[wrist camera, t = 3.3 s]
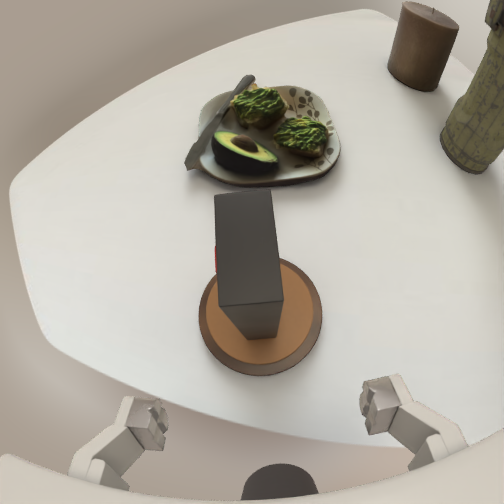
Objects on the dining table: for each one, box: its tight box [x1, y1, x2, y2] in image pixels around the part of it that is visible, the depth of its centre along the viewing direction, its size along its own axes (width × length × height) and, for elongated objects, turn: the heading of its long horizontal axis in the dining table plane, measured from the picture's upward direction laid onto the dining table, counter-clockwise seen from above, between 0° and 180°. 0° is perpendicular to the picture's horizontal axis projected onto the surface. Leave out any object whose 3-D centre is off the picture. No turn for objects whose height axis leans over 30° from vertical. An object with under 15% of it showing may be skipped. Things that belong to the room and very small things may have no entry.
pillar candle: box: [388, 1, 459, 91], centre depth 33 cm, size 10×10×15 cm
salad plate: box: [184, 75, 341, 187], centre depth 33 cm, size 19×18×5 cm
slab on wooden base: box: [206, 189, 313, 365], centre depth 19 cm, size 9×9×15 cm
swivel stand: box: [199, 258, 322, 376], centre depth 27 cm, size 11×11×1 cm
